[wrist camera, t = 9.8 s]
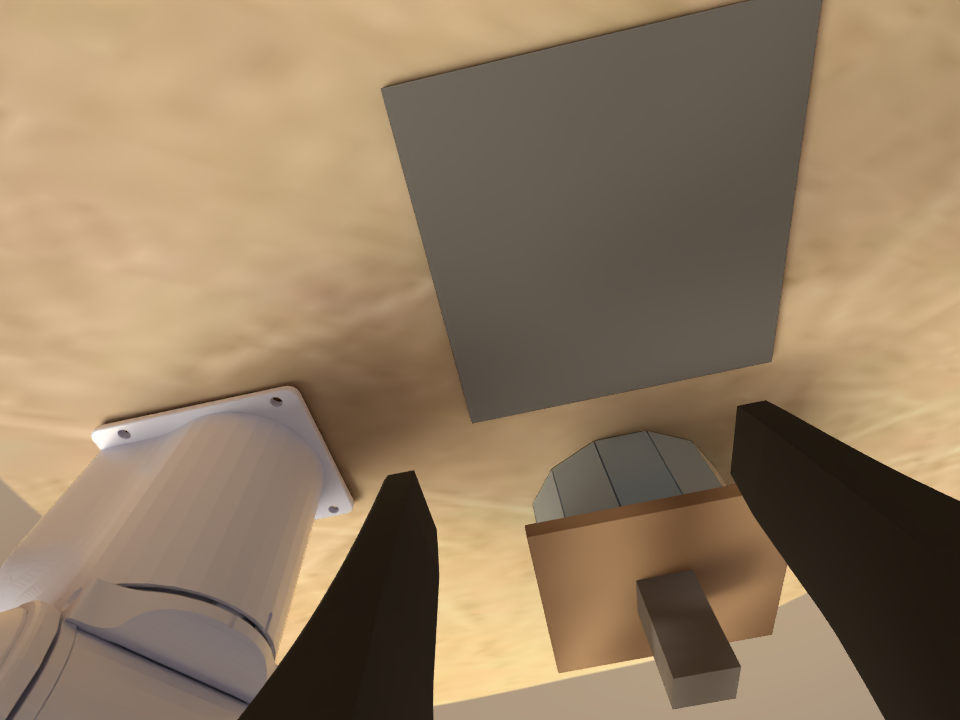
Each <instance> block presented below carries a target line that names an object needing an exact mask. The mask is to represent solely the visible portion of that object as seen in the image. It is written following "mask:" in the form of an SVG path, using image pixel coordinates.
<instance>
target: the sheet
mask: <svg viewBox="0 0 960 720" xmlns="http://www.w3.org/2000/svg"><path fill="white" fill-rule="evenodd" d="M525 530H526V535H527V540H528V544H529V548H530V553H531V557H532V561H533V566H534V570H535V574H536V579H537V583H538V587H539V591H540V596H541V600H542V604H543V609H544V613H545V617H546V622H547V626H548V630H549V635H550V639H551V643H552V648H553V652H554V656H555V661H556V665H557V669H558V673H562V672H568V671H573V670H579V669H584V668H590V667H596V666H601V665H607V664H612V663H618V662H623V661H629V660H634V659H640V658H645V657H651V656H654V659H655V662H656V665H657V667H658V670H659V673H660V676H661V678H662V681H663V684H664V686H665V689H666V692H667V695H668V698H669V700H670V703H671V706H672V709H678V708H683V707H689V706H695V705H700V704H706V703H712V702H718V701H723V700H729V699H735V698H736V694H737V688H738V682H739V676H740V670H741V666H740V664H739V662H738V660H737V658H736V656H735V654H734V652H733V650H732V648H731V646H730V644H729V642H734V641H739V640H745V639H750V638H756V637H761V636H766V635H772V632H773V627H774V623H775V618H776V614H777V609H778V605H779V600H780V595H781V591H782V586H783V582H784V577H785V572H786V568H787V563H786V562H785V560H784V559H783V557H782V556H781V555H780V553H779V552H778V550H777V549H776V548H775V546H774V545H773V543H772V542H771V540H770V539H769V538H768V536H767V535H766V533H765V532H764V530H763V529H762V528H761V526H760V525H759V523H758V522H757V520H756V519H755V517H754V516H753V514H752V513H751V511H750V509H749V507H748V505H747V504H746V502H745V500H744V498H743V496H742V494H741V493H740V491H739V489H738V487H737V485H736V484H734V485H729V486H723V487H718V488H713V489H708V490H703V491H698V492H693V493H688V494H683V495H677V496H672V497H667V498H662V499H657V500H652V501H647V502H642V503H636V504H631V505H626V506H621V507H616V508H611V509H606V510H601V511H595V512H590V513H585V514H580V515H575V516H570V517H565V518H560V519H554V520H549V521H544V522H539V523H534V524H529V525H525Z"/></svg>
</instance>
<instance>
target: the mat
mask: <svg viewBox="0 0 960 720" xmlns="http://www.w3.org/2000/svg"><path fill="white" fill-rule="evenodd" d="M821 4H822V0H749V1H745V2H740V3H736V4H732V5H728V6H724V7H719V8H715V9H711V10H707V11H703V12H699V13H694V14H690V15H686V16H682V17H678V18H673V19H669V20H665V21H661V22H657V23H653V24H648V25H644V26H640V27H636V28H632V29H627V30H623V31H619V32H615V33H611V34H607V35H602V36H598V37H594V38H590V39H586V40H581V41H577V42H573V43H569V44H565V45H561V46H556V47H552V48H548V49H544V50H540V51H535V52H531V53H527V54H523V55H519V56H515V57H510V58H506V59H502V60H498V61H494V62H489V63H485V64H481V65H477V66H473V67H469V68H464V69H460V70H456V71H452V72H448V73H443V74H439V75H435V76H431V77H427V78H422V79H418V80H414V81H410V82H406V83H402V84H397V85H393V86H389V87H385V88H381V92H382V95H383V99H384V103H385V106H386V110H387V114H388V117H389V121H390V125H391V128H392V132H393V136H394V139H395V143H396V147H397V150H398V154H399V158H400V161H401V165H402V169H403V172H404V176H405V180H406V183H407V187H408V191H409V194H410V198H411V202H412V205H413V209H414V213H415V216H416V220H417V224H418V227H419V231H420V235H421V238H422V242H423V246H424V249H425V253H426V257H427V260H428V264H429V268H430V271H431V275H432V279H433V282H434V286H435V290H436V293H437V297H438V301H439V304H440V308H441V312H442V315H443V319H444V323H445V326H446V330H447V334H448V337H449V341H450V345H451V348H452V352H453V356H454V359H455V363H456V367H457V370H458V374H459V378H460V381H461V385H462V389H463V392H464V396H465V400H466V403H467V407H468V411H469V414H470V418H471V422H472V423H477V422H482V421H487V420H491V419H496V418H501V417H506V416H511V415H516V414H521V413H525V412H530V411H535V410H540V409H545V408H550V407H555V406H559V405H564V404H569V403H574V402H579V401H584V400H589V399H593V398H598V397H603V396H608V395H613V394H618V393H623V392H627V391H632V390H637V389H642V388H647V387H652V386H657V385H661V384H666V383H671V382H676V381H681V380H686V379H691V378H695V377H700V376H705V375H710V374H715V373H720V372H725V371H729V370H734V369H739V368H744V367H749V366H754V365H759V364H763V363H768V362H772V355H773V348H774V340H775V333H776V326H777V319H778V312H779V305H780V297H781V290H782V283H783V276H784V269H785V262H786V254H787V247H788V240H789V233H790V226H791V219H792V211H793V204H794V197H795V190H796V183H797V176H798V168H799V161H800V154H801V147H802V140H803V133H804V125H805V118H806V111H807V104H808V97H809V90H810V82H811V75H812V68H813V61H814V54H815V47H816V39H817V32H818V25H819V18H820V11H821Z"/></svg>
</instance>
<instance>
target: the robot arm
mask: <svg viewBox="0 0 960 720" xmlns="http://www.w3.org/2000/svg"><path fill="white" fill-rule="evenodd" d="M273 397H277V398H280V399H281V400H282V401H281V402H278V401H276V400H274V399H273ZM124 430H126V431H128V432H129V433H128V432H126V431H124ZM91 438H92V440H93V441H94V442H95V444H96V445H97V446H98V447H99V448H100V450H101V451H100V452H99V454H98V455H97V456H96V457H95V458H94V459H93V460H92V461H91V463H90V464H89V465H88V466H87V467H86V468H85V469H84V471H83V472H82V473H81V474H80V475H79V476H78V477H77V479H76V480H75V481H74V482H73V483H72V484H71V485H70V487H69V488H68V489H67V490H66V491H65V492H64V493H63V494H62V496H61V497H60V498H59V499H58V500H57V501H56V502H55V504H54V505H53V506H52V507H51V508H50V509H49V510H48V512H47V513H46V514H45V515H44V516H43V517H42V518H41V520H40V521H39V522H38V523H37V524H36V525H35V526H34V527H33V529H32V530H31V531H30V532H29V533H28V534H27V535H26V537H25V538H24V539H23V540H22V541H21V542H20V543H19V545H18V546H17V547H16V548H15V549H14V550H13V552H12V553H11V554H10V555H9V557H8V558H7V560H6V561H5V562H4V564H3V565H2V567H1V569H0V720H433V680H434V662H435V644H436V627H437V609H438V590H439V559H438V543H437V529H436V527H435V524H434V521H433V519H432V516H431V513H430V511H429V508H428V506H427V503H426V500H425V498H424V495H423V492H422V490H421V487H420V485H419V482H418V479H417V477H416V474H415V471H414V470H413V471H408V472H403V473H398V474H393V475H388V476H387V477H386V479H385V480H384V482H383V484H382V486H381V489H380V491H379V493H378V495H377V497H376V499H375V502H374V504H373V506H372V508H371V510H370V512H369V514H368V516H367V518H366V520H365V522H364V524H363V526H362V528H361V530H360V532H359V534H358V536H357V538H356V540H355V542H354V544H353V546H352V547H351V549H350V551H349V553H348V555H347V557H346V559H345V561H344V563H343V564H342V566H341V568H340V570H339V571H338V573H337V575H336V577H335V578H334V580H333V582H332V583H331V585H330V587H329V588H328V590H327V592H326V594H325V595H324V597H323V599H322V600H321V602H320V604H319V605H318V607H317V609H316V610H315V612H314V613H313V615H312V617H311V618H310V620H309V621H308V623H307V624H306V626H305V627H304V629H303V630H302V632H301V634H300V635H299V637H298V638H297V639H296V641H295V642H294V644H293V645H292V647H291V648H290V650H289V651H288V653H287V654H286V655H285V657H284V658H283V660H282V661H281V662H280V664H279V665H278V666H277V665H276V663H275V660H276V656H277V653H278V649H279V646H280V642H281V638H282V635H283V631H284V627H285V624H286V620H287V617H288V613H289V609H290V606H291V602H292V598H293V595H294V591H295V588H296V584H297V580H298V577H299V573H300V569H301V566H302V562H303V559H304V555H305V551H306V548H307V544H308V540H309V537H310V533H311V530H312V526H313V522H314V520H316V519H321V518H326V517H331V516H336V515H341V514H346V513H349V512H351V511H352V509H353V506H354V501H353V499H352V497H351V495H350V492H349V490H348V488H347V486H346V484H345V482H344V480H343V478H342V476H341V474H340V472H339V470H338V468H337V466H336V464H335V462H334V460H333V458H332V456H331V454H330V452H329V450H328V448H327V446H326V444H325V442H324V440H323V438H322V436H321V434H320V432H319V430H318V428H317V426H316V424H315V422H314V420H313V418H312V416H311V414H310V412H309V410H308V408H307V406H306V404H305V402H304V400H303V398H302V396H301V393H300V392H299V391H298V389H296V388H294V387H292V386H283V387H278V388H273V389H268V390H264V391H259V392H254V393H250V394H245V395H240V396H236V397H231V398H226V399H222V400H217V401H212V402H207V403H203V404H198V405H193V406H189V407H184V408H179V409H175V410H170V411H165V412H160V413H156V414H151V415H146V416H142V417H137V418H132V419H128V420H123V421H118V422H114V423H109V424H104V425H100V426H98V427H96V428H95V430H94V431H93V432H92V433H91ZM731 475H732V477H733V479H734V481H735V483H736V485H737V487H738V489H739V491H740V493H741V494H742V496H743V498H744V500H745V502H746V504H747V505H748V507H749V509H750V511H751V513H752V514H753V516H754V517H755V519H756V520H757V522H758V523H759V525H760V526H761V528H762V529H763V530H764V532H765V533H766V535H767V536H768V538H769V539H770V540H771V542H772V543H773V545H774V546H775V548H776V549H777V550H778V552H779V553H780V555H781V556H782V557H783V559H784V560H785V562H786V563H787V564H788V566H789V567H790V569H791V570H792V571H793V573H794V574H795V576H796V577H797V578H798V580H799V581H800V583H801V584H802V586H803V587H804V588H805V590H806V591H807V593H808V594H809V595H810V597H811V598H812V600H813V601H814V602H815V604H816V605H817V607H818V608H819V609H820V611H821V612H822V614H823V615H824V617H825V618H826V620H827V621H828V623H829V624H830V626H831V627H832V629H833V630H834V632H835V633H836V635H837V637H838V638H839V640H840V642H841V643H842V645H843V647H844V649H845V650H846V652H847V654H848V655H849V657H850V659H851V661H852V662H853V664H854V666H855V667H856V669H857V671H858V673H859V674H860V676H861V678H862V679H863V681H864V683H865V684H866V686H867V688H868V689H869V692H870V693H871V695H872V697H873V699H874V701H875V702H876V704H877V706H878V708H879V710H880V711H881V713H882V715H883V717H884V718H885V720H960V501H958V500H956V499H954V498H952V497H950V496H947V495H945V494H943V493H941V492H939V491H937V490H935V489H933V488H931V487H929V486H927V485H925V484H922V483H920V482H918V481H916V480H914V479H912V478H910V477H908V476H906V475H904V474H902V473H900V472H898V471H896V470H894V469H892V468H890V467H888V466H886V465H884V464H882V463H880V462H878V461H876V460H874V459H873V458H871V457H869V456H867V455H865V454H863V453H861V452H859V451H858V450H856V449H854V448H852V447H850V446H848V445H846V444H845V443H843V442H841V441H839V440H837V439H835V438H834V437H832V436H830V435H828V434H826V433H825V432H823V431H821V430H819V429H817V428H816V427H814V426H812V425H810V424H808V423H807V422H805V421H803V420H801V419H799V418H798V417H796V416H794V415H792V414H790V413H789V412H787V411H785V410H783V409H781V408H779V407H778V406H776V405H774V404H772V403H770V402H768V401H766V400H765V401H760V402H755V403H750V404H745V405H740V406H737V415H736V424H735V434H734V444H733V454H732V463H731ZM332 506H336V507H332Z"/></svg>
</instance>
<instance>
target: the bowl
mask: <svg viewBox="0 0 960 720" xmlns="http://www.w3.org/2000/svg"><path fill="white" fill-rule="evenodd" d="M723 486H727V484H726V483H725V482H724V480H723V479H722V477H721V476H720V474H719V473H718V471H717V470H716V468H715V467H714V466H713V465H712V464H711V463H710V461H709V460H708V459H707V458H706V457H705V456H704V455H703V453H702V452H701V451H700V450H699V449H698V448H697V446H696V445H695V444H694V443H693V442H692V441H689V440H685V439H680V438H676V437H672V436H668V435H663V434H659V433H655V432H651V431H647V432H646V431H642V432H637V433H632V434H627V435H622V436H617V437H612V438H607V439H602V440H597V441H595V443H594V442H592V443H590V444H589V445H587V446H586V447H584V448H583V449H581V450H580V451H578V452H577V453H575V454H574V455H572V456H571V457H569V458H568V459H566V460H565V461H563V462H562V463H560V464H559V465H557V466H556V467H554V468H553V469H552V470H551V471H550V473H549V475H548V477H547V479H546V481H545V482H544V484H543V486H542V488H541V490H540V492H539V494H538V495H537V497H536V499H535V501H534V503H533V508H534V513H535V518H536V522H537V523H539V522H544V521H549V520H554V519H560V518H565V517H570V516H575V515H580V514H585V513H590V512H595V511H601V510H606V509H611V508H616V507H621V506H626V505H631V504H636V503H642V502H647V501H652V500H657V499H662V498H667V497H672V496H677V495H683V494H688V493H693V492H698V491H703V490H708V489H713V488H718V487H723Z"/></svg>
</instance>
